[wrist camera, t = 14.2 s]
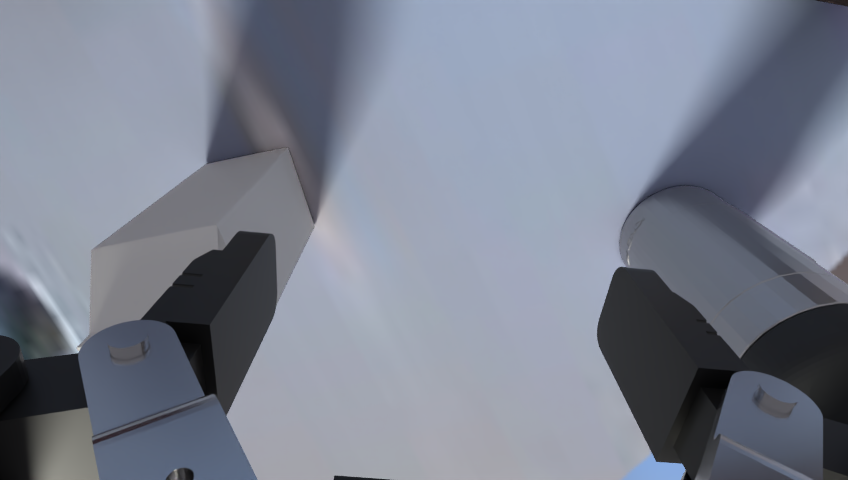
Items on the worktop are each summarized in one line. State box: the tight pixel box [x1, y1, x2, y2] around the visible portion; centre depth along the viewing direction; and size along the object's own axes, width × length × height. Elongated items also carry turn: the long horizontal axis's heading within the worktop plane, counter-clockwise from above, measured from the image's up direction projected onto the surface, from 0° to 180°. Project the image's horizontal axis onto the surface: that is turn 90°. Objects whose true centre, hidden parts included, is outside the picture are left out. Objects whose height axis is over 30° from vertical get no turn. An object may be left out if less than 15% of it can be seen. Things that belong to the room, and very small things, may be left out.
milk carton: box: [77, 148, 314, 351], centre depth 32 cm, size 7×7×19 cm
